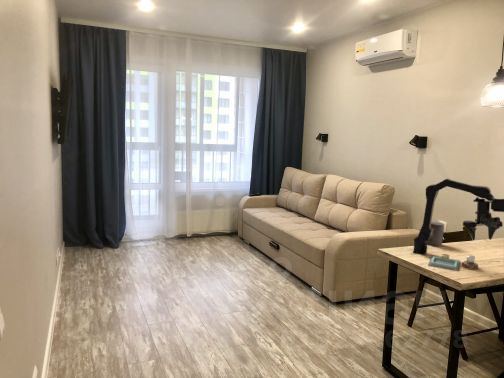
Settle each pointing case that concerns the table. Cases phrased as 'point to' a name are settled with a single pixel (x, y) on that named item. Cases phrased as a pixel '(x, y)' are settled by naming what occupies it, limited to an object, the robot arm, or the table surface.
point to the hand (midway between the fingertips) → (481, 239)
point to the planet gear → (470, 263)
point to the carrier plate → (444, 262)
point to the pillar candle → (436, 234)
